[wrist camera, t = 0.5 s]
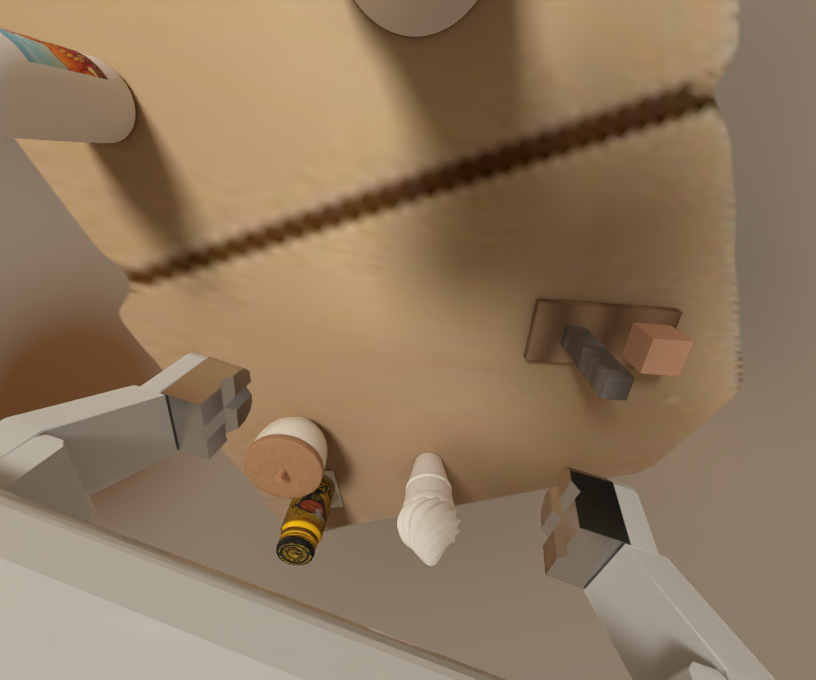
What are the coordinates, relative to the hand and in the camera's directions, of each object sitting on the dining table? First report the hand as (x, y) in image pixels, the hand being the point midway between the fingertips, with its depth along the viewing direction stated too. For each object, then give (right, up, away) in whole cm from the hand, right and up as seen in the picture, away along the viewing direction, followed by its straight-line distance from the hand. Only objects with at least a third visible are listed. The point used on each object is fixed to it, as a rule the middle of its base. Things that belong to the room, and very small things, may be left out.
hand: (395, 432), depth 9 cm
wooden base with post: (+24, +3, +38) cm, 45 cm away
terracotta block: (+30, +2, +37) cm, 47 cm away
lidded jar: (-16, -12, +48) cm, 52 cm away
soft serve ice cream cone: (+4, -17, +49) cm, 52 cm away
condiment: (-15, -23, +53) cm, 59 cm away
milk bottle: (-32, +27, +29) cm, 51 cm away
